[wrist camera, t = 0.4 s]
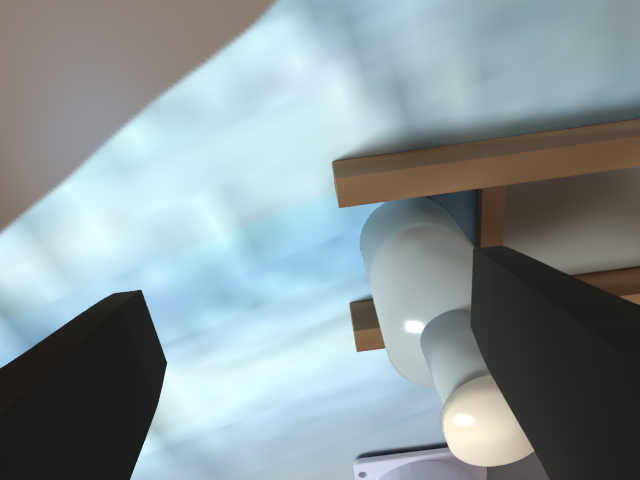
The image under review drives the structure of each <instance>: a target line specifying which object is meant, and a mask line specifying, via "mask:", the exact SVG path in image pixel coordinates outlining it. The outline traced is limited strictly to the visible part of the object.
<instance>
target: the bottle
mask: <svg viewBox="0 0 640 480" xmlns="http://www.w3.org/2000/svg"><path fill="white" fill-rule="evenodd" d="M473 249H475V247H474V246H473V244H472V243H471V242H470V240H469V239H468V238H467V236H466V235H465V234H464V232H463V231H462V230H461V229H460V227H459V226H458V225H457V223H456V222H455V221H454V219H453V218H452V217H451V215H450V214H449V213H448V212H447V210H446V209H445V208H444V207H443V206H442V205H441V204H439V203H437V202H436V201H434V200H432V199H429V198H426V197H415V198H408V199H401V200H393V201H388V202H386V203H384V204H383V205H381V206H380V207H378V208H377V209H376V210H375V211H374V212H373V213H372V214H371V215H370V216H369V218H368V219H367V221H366V222H365V224H364V226H363V229H362V232H361V236H360V250H361V254H362V258H363V262H364V266H365V270H366V274H367V278H368V281H369V285H370V289H371V293H372V297H373V301H374V305H375V309H376V312H377V316H378V320H379V324H380V328H381V332H382V336H383V340H384V344H385V347H386V351H387V355H388V358H389V360H390V362H391V364H392V366H393V367H394V368H395V370H396V371H397V372H398V373H399V374H400V375H401V376H402V377H404V378H405V379H407V380H408V381H410V382H412V383H414V384H416V385H419V386H422V387H426V388H431V389H436V390H437V393H438V396H439V398H440V401H441V404H442V409H441V413H440V423H441V426H442V429H443V432H444V435H445V438H446V441H447V444H448V446H449V448H450V450H451V452H452V453H453V454H454V455H455V456H456V457H457V458H458V459H460V460H462V461H464V462H466V463H469V464H472V465H476V466H500V465H505V464H509V463H512V462H515V461H518V460H520V459H522V458H524V457H526V456H528V455H529V454H531V453H532V452H534V449H533V447H532V446H531V444H530V442H529V440H528V439H527V437H526V435H525V433H524V432H523V430H522V428H521V426H520V425H519V423H518V421H517V419H516V418H515V416H514V414H513V413H512V411H511V409H510V407H509V406H508V404H507V402H506V400H505V399H504V397H503V395H502V393H501V392H500V390H499V388H498V386H497V384H496V383H495V381H494V379H493V377H492V376H491V374H490V372H489V370H488V368H487V366H486V364H485V362H484V359H483V357H482V355H481V352H480V350H479V347H478V345H477V342H476V340H475V337H474V334H473V332H472V329H471V327H470V322H471V293H472V264H473Z"/></svg>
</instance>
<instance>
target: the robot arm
mask: <svg viewBox="0 0 640 480" xmlns="http://www.w3.org/2000/svg"><path fill="white" fill-rule="evenodd" d="M470 327H471V329H472V332H473V334H474V337H475V340H476V342H477V345H478V347H479V350H480V352H481V355H482V357H483V359H484V362H485V364H486V366H487V368H488V370H489V372H490V374H491V376H492V377H493V379H494V381H495V383H496V384H497V386H498V388H499V390H500V392H501V393H502V395H503V397H504V399H505V400H506V402H507V404H508V406H509V407H510V409H511V411H512V413H513V414H514V416H515V418H516V419H517V421H518V423H519V425H520V426H521V428H522V430H523V432H524V433H525V435H526V437H527V439H528V440H529V442H530V444H531V446H532V447H533V449H534V451H535V453H536V454H537V456H538V458H539V460H540V461H541V463H542V465H543V467H544V469H545V471H546V473H547V475H548V477H549V479H550V480H640V305H639V304H636V303H634V302H631V301H629V300H626V299H624V298H621V297H619V296H616V295H614V294H611V293H609V292H607V291H604V290H602V289H600V288H597V287H595V286H593V285H591V284H588V283H586V282H584V281H582V280H579V279H577V278H575V277H573V276H571V275H568V274H566V273H564V272H562V271H560V270H558V269H555V268H553V267H551V266H549V265H547V264H545V263H543V262H540V261H538V260H536V259H534V258H532V257H530V256H527V255H525V254H523V253H521V252H518V251H516V250H514V249H511V248H508V247H506V246H503V245H499V246H491V247H483V248H475V249H473V264H472V293H471V322H470ZM166 366H167V361H166V359H165V356H164V353H163V350H162V347H161V344H160V341H159V339H158V336H157V333H156V330H155V327H154V324H153V322H152V319H151V316H150V313H149V310H148V307H147V305H146V302H145V299H144V296H143V293H142V290H137V291H129V292H120V293H114V294H112V295H110V296H108V297H106V298H104V299H103V300H101V301H99V302H98V303H96V304H95V305H93V306H92V307H90V308H89V309H87V310H86V311H84V312H83V313H81V314H80V315H78V316H77V317H75V318H74V319H72V320H71V321H70V322H68V323H67V324H65V325H64V326H62V327H61V328H59V329H58V330H57V331H55V332H54V333H52V334H51V335H49V336H48V337H47V338H45V339H44V340H42V341H41V342H39V343H38V344H36V345H35V346H34V347H32V348H31V349H29V350H28V351H26V352H25V353H23V354H22V355H20V356H19V357H17V358H16V359H14V360H13V361H11V362H10V363H8V364H7V365H5V366H3V367H2V368H0V480H130V478H131V475H132V473H133V470H134V468H135V465H136V462H137V460H138V457H139V454H140V452H141V449H142V447H143V444H144V441H145V439H146V436H147V433H148V430H149V428H150V425H151V422H152V420H153V417H154V414H155V411H156V408H157V406H158V402H159V398H160V394H161V389H162V385H163V380H164V375H165V370H166ZM353 470H354V476H355V480H486V477H487V466H476V465H472V464H469V463H466V462H464V461H462V460H460V459H458V458H457V457H456V456H455V455H454V454H453V453H452V452H451V450H450V448H449V447H447V448H439V449H431V450H423V451H415V452H407V453H399V454H391V455H383V456H375V457H367V458H360V459H357V460H355V461H354V463H353Z"/></svg>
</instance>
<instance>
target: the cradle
mask: <svg viewBox="0 0 640 480" xmlns="http://www.w3.org/2000/svg"><path fill="white" fill-rule="evenodd" d="M332 166H333V174H334V182H335V189H336V194H337V199H338V204H339V208H343V207H350V206H357V205H364V204H372V203H379V202H386V201H393V200H401V199H408V198H415V197H422V196H430V195H437V194H444V193H451V192H459V191H466V190H473V189H478V220H477V248H483V247H491V246H499V245H503V246H506V247H508V248H511V249H514V250H516V251H518V252H521V253H523V254H525V255H527V256H530V257H532V258H534V259H536V260H538V261H540V262H543V263H545V264H547V265H549V266H551V267H553V268H555V269H558V270H560V271H562V272H564V273H566V274H568V275H571V276H573V277H575V278H577V279H579V280H582V281H584V282H586V283H588V284H591V285H593V286H595V287H597V288H600V289H602V290H604V291H607V292H609V293H611V294H614V295H616V296H619V297H621V298H624V299H626V300H629V301H631V302H634V303H636V304H639V305H640V119H633V120H626V121H618V122H611V123H604V124H597V125H590V126H583V127H576V128H569V129H562V130H554V131H547V132H540V133H533V134H526V135H519V136H512V137H505V138H498V139H490V140H483V141H476V142H469V143H462V144H455V145H448V146H441V147H433V148H426V149H419V150H412V151H405V152H398V153H391V154H384V155H377V156H369V157H362V158H355V159H348V160H341V161H334V162H332ZM350 311H351V319H352V326H353V332H354V338H355V344H356V349H357V352H361V351H368V350H376V349H384V348H386V347H385V344H384V340H383V336H382V332H381V328H380V324H379V320H378V316H377V312H376V309H375V305H374V301H373V300H369V301H362V302H354V303H350Z"/></svg>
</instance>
